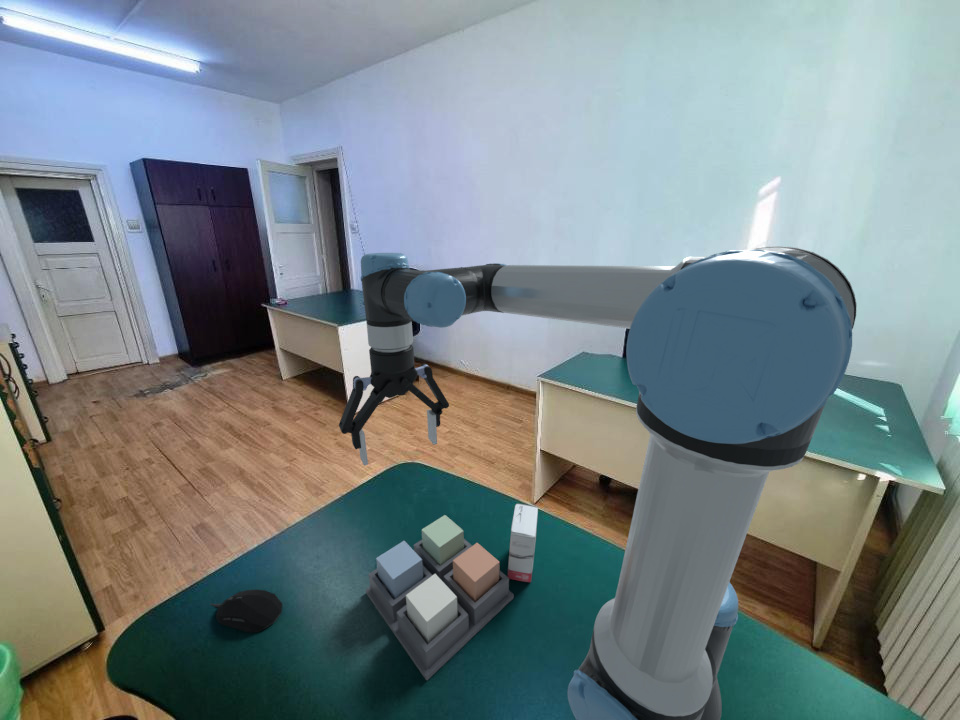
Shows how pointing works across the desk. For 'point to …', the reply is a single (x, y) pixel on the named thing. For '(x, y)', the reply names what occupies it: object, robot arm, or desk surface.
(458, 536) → the key sage
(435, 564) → the keypad
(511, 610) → the desk surface
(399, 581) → the key slate
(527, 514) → the ink box
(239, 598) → the gaming mouse
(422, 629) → the key ivory
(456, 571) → the key terracotta
